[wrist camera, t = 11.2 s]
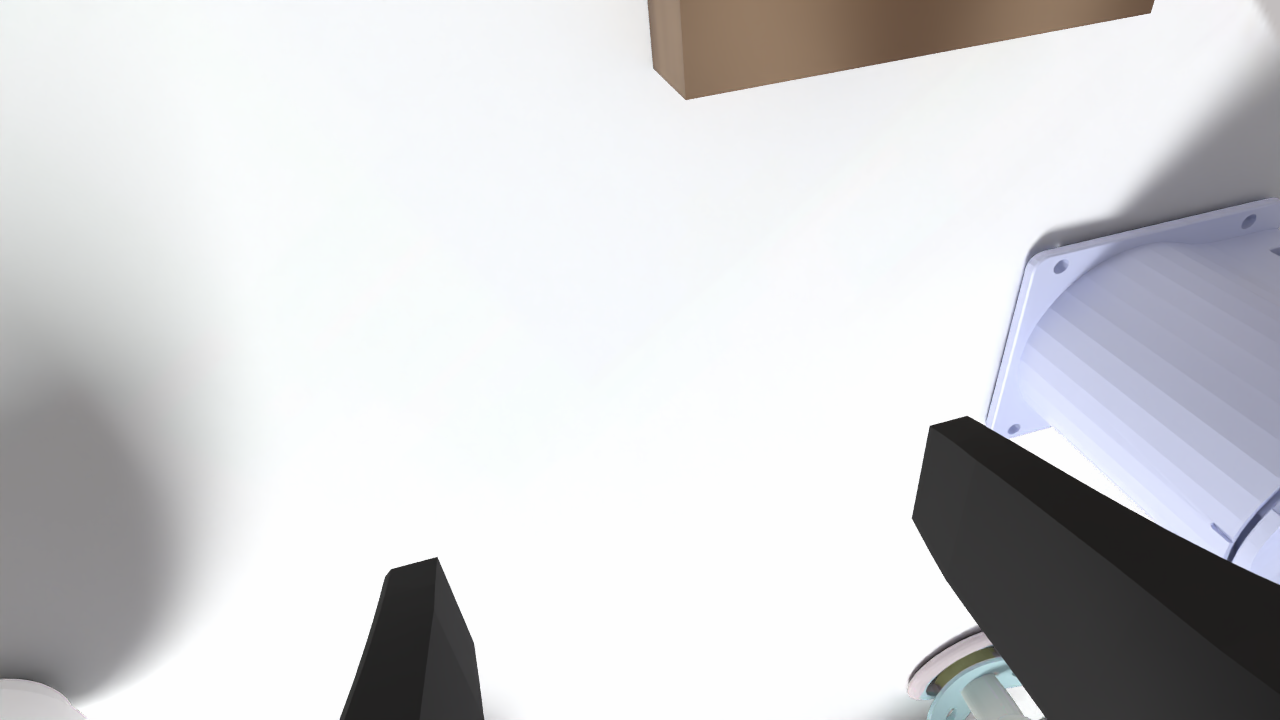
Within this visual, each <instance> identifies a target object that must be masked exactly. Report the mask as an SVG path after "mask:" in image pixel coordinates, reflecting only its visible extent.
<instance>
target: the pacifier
mask: <svg viewBox="0 0 1280 720" xmlns="http://www.w3.org/2000/svg"><path fill="white" fill-rule="evenodd" d="M990 646H993V644H992V643H991V642H990V640H989V639H988V638H987V636H986V635H985V634H984V632H980V633H978V634H975V635H972V636H970V637H968V638H966V639H963V640H961V641H959V642H958V643H956V644H954V645H952V646H950V647H949V648H947V649H945V650H944V651H942V652H941V653H939V654H938V655H936V656H935V657H934V658H932V659H931V660H930V661H929V662H927V663H926V664H925V665H924V666H923V667H922V668H921V669H920V670H919V671H918V672H917V673H916V674H915V675H914V677H913V678H912V679H911V681H910V682H909V685H908V688H907V693H908V695H909V697H911V698H913V699H915V700H929V699H934V698H935V699H934V701H933V703H932V704H931V707H930V710H929V712H928V715H927V720H965V719H966V717H967V716H968V715H969V713H970V712H972V714H973V715H974V717H975V719H976V720H1031V719H1029V718H1027V717H1025V716H1024V715H1023V713H1022V712H1021V710H1020V709H1019V707H1018V706H1017V705H1016V703H1015V702H1014V700H1013V699H1012V697H1011V696H1010V695H1009V693H1008V692H1007V691H1006V688H1012V687H1017V686H1022V684H1021V683H1020V681H1019V680H1018V679H1017V677H1016V676H1015V675H1014V673H1013V672H1012V670H1011V669H1010V668H1009V666H1008V665H1007V664H1006V662H1005V661H1004V660H1003V658H1002V657H1001V655H1000V654H999V653H998V651H997V650H996V649H995V648H987V647H990ZM984 648H985V649H984ZM957 660H958V661H957ZM948 666H949V667H948ZM944 669H945V670H944ZM943 670H944V671H943ZM942 671H943V672H942ZM940 672H942V673H941V674H940V675H939V676H938V677H937V679H936V681H935V684H932V685H929V684H930V682H931V681H932V680H933V679H934V678H935V677H936V676H937V675H938V674H939V673H940ZM953 708H954V709H953ZM951 709H953V711H952V713H951V714H950V716H948V717H947V715H948V713H949V711H950V710H951ZM946 717H947V718H946Z"/></svg>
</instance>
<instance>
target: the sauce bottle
mask: <svg viewBox="0 0 1280 720" xmlns="http://www.w3.org/2000/svg"><path fill="white" fill-rule="evenodd" d="M0 720H89V719H88V718H87V717H86V716H84V715H83V714H82V713H81V712H80V711H79V710H77V709H76V708H74V707H72V705H71V703H70V702H69V700H68V699H67V698H66V697H65V696H64V695H62V694H61V693H60V692H58V691H57V690H55V689H53V688H52V687H49V686H47V685H44V684H42V683H38V682H34V681H30V680H23V679H0Z"/></svg>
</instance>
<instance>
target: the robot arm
mask: <svg viewBox="0 0 1280 720" xmlns="http://www.w3.org/2000/svg"><path fill="white" fill-rule="evenodd" d="M1279 226H1280V199H1278V198H1276V197H1271V198H1267V199H1262V200H1258V201H1254V202H1250V203H1245V204H1241V205H1237V206H1233V207H1228V208H1224V209H1220V210H1216V211H1211V212H1207V213H1203V214H1199V215H1194V216H1190V217H1186V218H1181V219H1177V220H1173V221H1169V222H1164V223H1160V224H1156V225H1152V226H1147V227H1143V228H1139V229H1135V230H1130V231H1126V232H1122V233H1118V234H1113V235H1109V236H1105V237H1100V238H1096V239H1092V240H1088V241H1083V242H1079V243H1075V244H1071V245H1066V246H1062V247H1058V248H1054V249H1049V250H1045V251H1042V252H1039V253H1037V254H1036V255H1034V256H1033V257H1032V258H1031V259H1030V260H1029V262H1028V264H1027V266H1026V269H1025V273H1024V277H1023V281H1022V285H1021V289H1020V292H1019V296H1018V300H1017V304H1016V308H1015V312H1014V316H1013V320H1012V324H1011V328H1010V332H1009V335H1008V339H1007V343H1006V347H1005V351H1004V355H1003V359H1002V363H1001V367H1000V371H999V375H998V378H997V382H996V386H995V390H994V394H993V398H992V402H991V406H990V410H989V414H988V418H987V421H986V425H983V424H981V423H979V422H977V421H976V420H974V419H972V418H970V417H968V416H965V417H961V418H958V419H954V420H950V421H946V422H943V423H939V424H935V425H931V426H930V428H929V433H928V438H927V443H926V448H925V453H924V459H923V464H922V469H921V474H920V479H919V484H918V490H917V495H916V500H915V505H914V510H913V515H912V519H913V521H914V523H915V525H916V527H917V529H918V531H919V532H920V534H921V536H922V538H923V540H924V542H925V544H926V546H927V547H928V549H929V551H930V553H931V555H932V556H933V558H934V560H935V562H936V563H937V565H938V567H939V569H940V570H941V572H942V574H943V576H944V577H945V579H946V581H947V582H948V583H949V585H950V586H951V588H952V589H953V591H954V592H955V593H956V595H957V596H958V598H959V599H960V600H961V602H962V603H963V605H964V606H965V607H966V609H967V610H968V611H969V613H970V614H971V616H972V617H973V618H974V620H975V621H976V623H977V624H978V625H979V627H980V628H981V629H982V631H983V632H984V634H985V635H986V636H987V638H988V639H989V640H990V642H991V643H992V644H993V646H994V647H995V649H996V650H997V651H998V653H999V654H1000V655H1001V657H1002V658H1003V660H1004V661H1005V662H1006V664H1007V665H1008V666H1009V668H1010V669H1011V670H1012V672H1013V673H1014V675H1015V676H1016V677H1017V679H1018V680H1019V681H1020V683H1021V684H1022V685H1023V687H1024V688H1025V690H1026V691H1027V692H1028V694H1029V695H1030V696H1031V698H1032V699H1033V701H1034V702H1035V703H1036V705H1037V706H1038V707H1039V709H1040V710H1041V711H1042V713H1043V714H1044V716H1045V717H1046V719H1047V720H1280V229H1278V228H1279ZM1049 427H1053V428H1054V429H1055V430H1056V431H1057V432H1058V433H1059V434H1060V435H1061V436H1063V437H1064V438H1065V439H1066V440H1067V441H1068V442H1069V443H1070V444H1071V445H1072V446H1073V447H1074V448H1075V449H1077V450H1078V451H1079V452H1080V453H1081V454H1082V455H1083V456H1084V457H1085V458H1086V459H1087V460H1088V461H1089V462H1091V463H1092V464H1093V465H1094V466H1095V467H1096V468H1097V469H1098V470H1099V471H1100V472H1101V473H1102V474H1103V475H1105V476H1106V477H1107V478H1108V479H1109V480H1110V481H1111V482H1112V483H1113V484H1114V485H1115V486H1116V487H1117V488H1119V489H1120V490H1121V491H1122V492H1123V493H1124V494H1125V495H1126V496H1127V497H1128V498H1129V499H1130V500H1131V501H1133V502H1134V503H1135V504H1136V505H1137V506H1138V507H1139V508H1140V509H1141V510H1142V511H1143V512H1144V513H1145V514H1147V515H1148V516H1149V517H1150V518H1151V519H1152V520H1153V521H1154V522H1155V523H1154V522H1152V521H1150V520H1148V519H1146V518H1144V517H1143V516H1141V515H1139V514H1137V513H1135V512H1133V511H1132V510H1130V509H1128V508H1126V507H1124V506H1123V505H1121V504H1119V503H1117V502H1115V501H1114V500H1112V499H1110V498H1108V497H1107V496H1105V495H1103V494H1101V493H1099V492H1098V491H1096V490H1094V489H1092V488H1091V487H1089V486H1087V485H1085V484H1084V483H1082V482H1080V481H1079V480H1077V479H1075V478H1073V477H1072V476H1070V475H1068V474H1066V473H1065V472H1063V471H1061V470H1060V469H1058V468H1056V467H1055V466H1053V465H1051V464H1049V463H1048V462H1046V461H1044V460H1043V459H1041V458H1039V457H1038V456H1036V455H1034V454H1032V453H1031V452H1029V451H1027V450H1026V449H1024V448H1022V447H1021V446H1019V445H1017V444H1015V443H1014V442H1012V441H1010V440H1009V438H1013V437H1016V436H1020V435H1024V434H1027V433H1031V432H1035V431H1038V430H1042V429H1046V428H1049ZM340 720H484V715H483V707H482V699H481V691H480V683H479V676H478V669H477V662H476V655H475V647H474V642H473V640H472V637H471V635H470V633H469V630H468V628H467V626H466V623H465V621H464V619H463V616H462V614H461V612H460V609H459V607H458V605H457V602H456V600H455V597H454V595H453V593H452V590H451V588H450V586H449V583H448V581H447V579H446V576H445V574H444V572H443V569H442V567H441V565H440V562H439V560H438V557H436V558H432V559H428V560H424V561H421V562H417V563H413V564H409V565H406V566H402V567H398V568H394V569H391V570H390V571H389V573H388V574H387V575H386V577H385V579H384V583H383V587H382V591H381V595H380V598H379V602H378V606H377V609H376V613H375V616H374V619H373V623H372V626H371V629H370V633H369V636H368V639H367V642H366V645H365V649H364V652H363V655H362V658H361V661H360V664H359V667H358V670H357V673H356V676H355V679H354V682H353V684H352V687H351V690H350V693H349V695H348V698H347V701H346V703H345V706H344V709H343V712H342V714H341V717H340Z"/></svg>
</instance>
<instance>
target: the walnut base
mask: <svg viewBox="0 0 1280 720" xmlns="http://www.w3.org/2000/svg"><path fill="white" fill-rule="evenodd" d="M1153 3H1154V0H648V11H649V23H650V35H651V47H652V58H653V69H654V70H655V71H657V72H658V73H659V74H660V75H661V76H662V77H663V78H664V79H665V80H666V81H667V82H668V83H669V84H670V85H671V86H672V87H673V88H674V89H675V90H676V91H677V92H678V93H679V94H680V95H681V96H682V97H683V98H684V99H685V100H688V99H694V98H699V97H704V96H710V95H715V94H721V93H726V92H731V91H737V90H742V89H747V88H753V87H758V86H763V85H769V84H774V83H779V82H785V81H790V80H795V79H801V78H806V77H812V76H817V75H822V74H828V73H833V72H838V71H844V70H849V69H854V68H860V67H865V66H870V65H876V64H881V63H886V62H892V61H897V60H902V59H908V58H913V57H919V56H924V55H929V54H935V53H940V52H945V51H951V50H956V49H961V48H967V47H972V46H977V45H983V44H988V43H993V42H999V41H1004V40H1009V39H1015V38H1020V37H1026V36H1031V35H1036V34H1042V33H1047V32H1052V31H1058V30H1063V29H1068V28H1074V27H1079V26H1084V25H1090V24H1095V23H1100V22H1106V21H1111V20H1116V19H1122V18H1127V17H1133V16H1138V15H1143V14H1149V13H1151V10H1152V7H1153Z"/></svg>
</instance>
